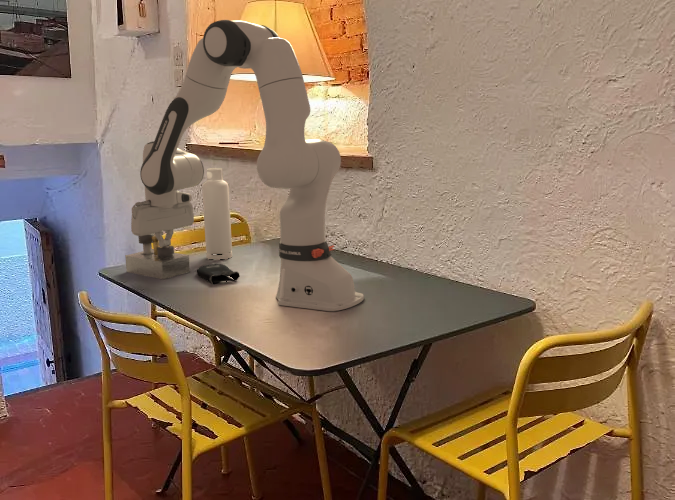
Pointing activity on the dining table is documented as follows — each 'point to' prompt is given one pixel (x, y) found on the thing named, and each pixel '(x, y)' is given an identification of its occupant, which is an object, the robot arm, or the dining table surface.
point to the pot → (155, 244)
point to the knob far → (146, 243)
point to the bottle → (217, 215)
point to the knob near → (165, 252)
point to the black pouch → (215, 272)
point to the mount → (157, 265)
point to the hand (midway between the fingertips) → (165, 246)
